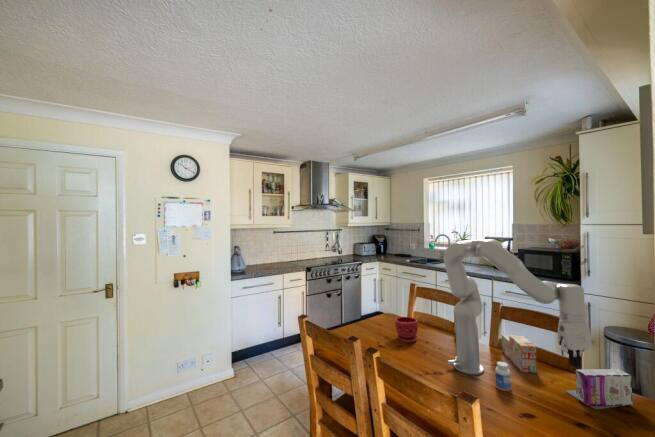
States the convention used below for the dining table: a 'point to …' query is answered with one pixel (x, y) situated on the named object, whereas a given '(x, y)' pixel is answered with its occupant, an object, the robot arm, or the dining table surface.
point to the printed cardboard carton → (520, 352)
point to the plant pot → (406, 329)
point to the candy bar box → (604, 387)
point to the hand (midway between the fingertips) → (575, 366)
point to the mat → (574, 394)
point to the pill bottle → (503, 376)
